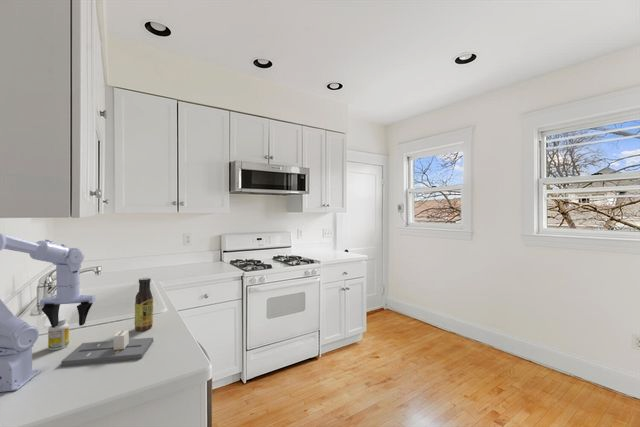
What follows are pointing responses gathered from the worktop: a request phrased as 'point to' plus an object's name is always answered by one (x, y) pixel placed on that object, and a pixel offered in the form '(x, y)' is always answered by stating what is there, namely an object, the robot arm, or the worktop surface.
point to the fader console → (107, 352)
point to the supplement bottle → (58, 335)
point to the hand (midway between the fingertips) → (68, 325)
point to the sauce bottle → (144, 306)
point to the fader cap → (121, 339)
